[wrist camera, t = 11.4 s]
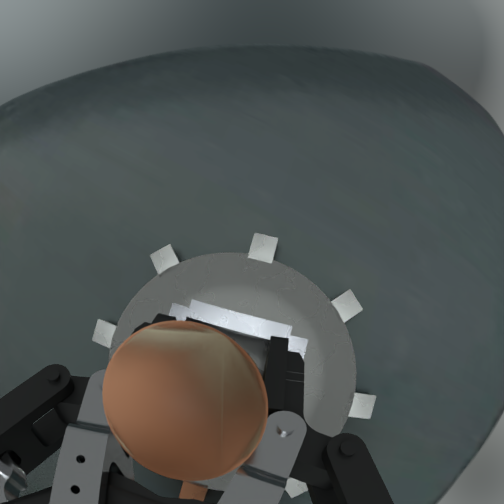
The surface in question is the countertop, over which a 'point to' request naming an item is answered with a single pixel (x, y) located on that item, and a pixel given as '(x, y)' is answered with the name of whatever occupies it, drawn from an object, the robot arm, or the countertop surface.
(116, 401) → the pin
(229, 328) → the sprocket plate
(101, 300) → the countertop surface
